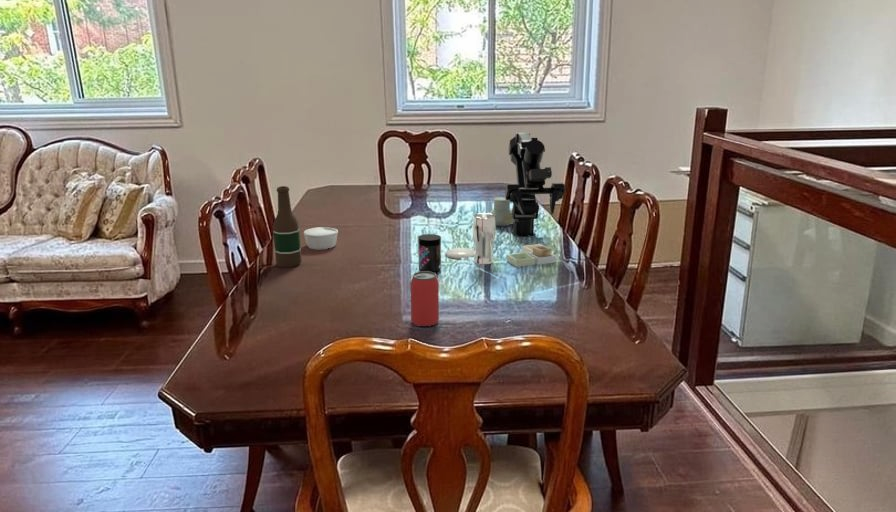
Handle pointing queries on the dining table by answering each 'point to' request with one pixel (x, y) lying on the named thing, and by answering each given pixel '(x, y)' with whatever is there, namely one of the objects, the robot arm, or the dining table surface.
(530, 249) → the cream dish
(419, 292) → the beer can
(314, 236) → the ramekin
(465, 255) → the stone coaster
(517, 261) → the sage dish
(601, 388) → the dining table surface
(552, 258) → the pale blue dish
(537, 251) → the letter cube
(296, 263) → the beer bottle
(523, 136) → the robot arm
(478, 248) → the beer glass
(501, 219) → the air freshener
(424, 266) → the supplement container
